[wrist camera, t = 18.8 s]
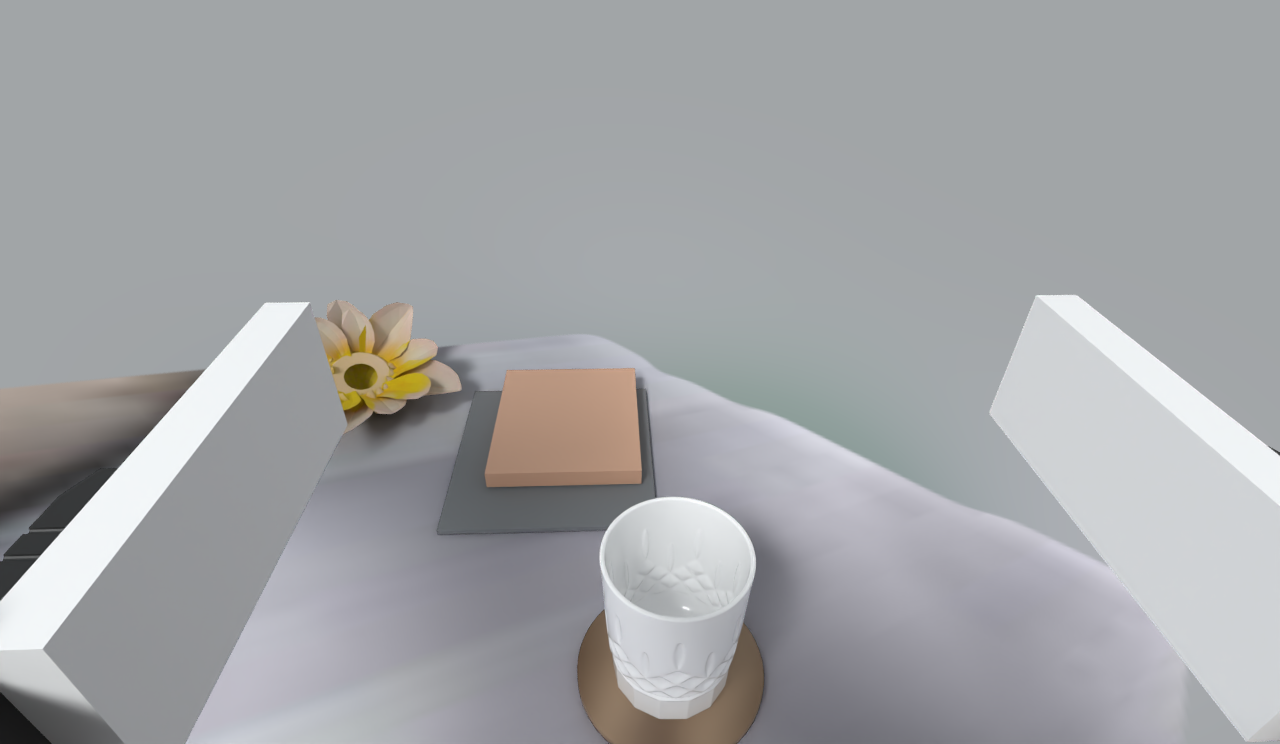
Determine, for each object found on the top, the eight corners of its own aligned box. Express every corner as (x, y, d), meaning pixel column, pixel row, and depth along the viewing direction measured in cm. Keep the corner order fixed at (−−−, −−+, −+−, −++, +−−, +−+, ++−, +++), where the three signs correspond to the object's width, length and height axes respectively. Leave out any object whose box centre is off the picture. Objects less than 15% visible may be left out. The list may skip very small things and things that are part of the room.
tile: (484, 473, 50) (507, 370, 61) (487, 488, 51) (508, 383, 62) (641, 470, 50) (634, 368, 62) (641, 485, 51) (634, 382, 63)
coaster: (574, 771, 34) (573, 766, 34) (580, 594, 43) (580, 588, 43) (781, 763, 35) (782, 757, 34) (744, 589, 44) (745, 583, 43)
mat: (437, 534, 47) (436, 530, 47) (475, 394, 61) (474, 391, 61) (657, 528, 48) (657, 525, 48) (645, 392, 62) (645, 388, 62)
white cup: (753, 636, 40) (774, 524, 35) (709, 758, 34) (726, 647, 29) (638, 589, 43) (640, 479, 37) (579, 695, 37) (570, 583, 31)
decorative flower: (295, 474, 50) (256, 351, 46) (264, 430, 58) (229, 323, 54) (475, 411, 58) (454, 302, 55) (425, 380, 67) (404, 284, 63)
